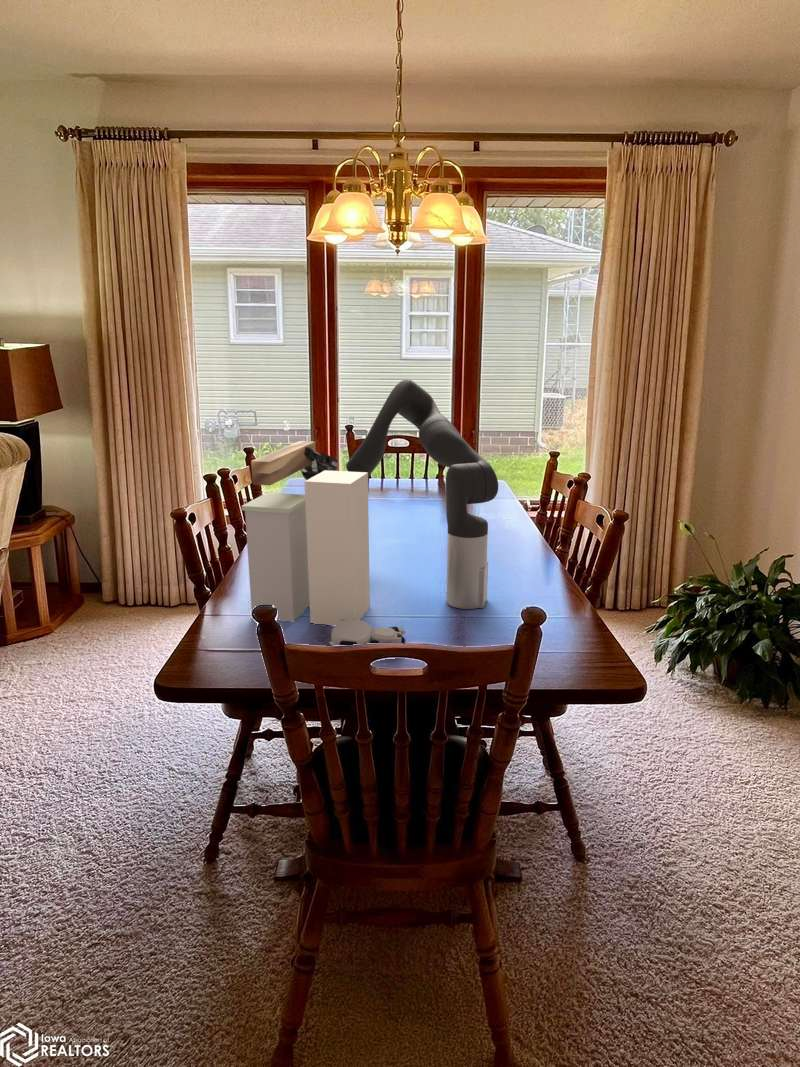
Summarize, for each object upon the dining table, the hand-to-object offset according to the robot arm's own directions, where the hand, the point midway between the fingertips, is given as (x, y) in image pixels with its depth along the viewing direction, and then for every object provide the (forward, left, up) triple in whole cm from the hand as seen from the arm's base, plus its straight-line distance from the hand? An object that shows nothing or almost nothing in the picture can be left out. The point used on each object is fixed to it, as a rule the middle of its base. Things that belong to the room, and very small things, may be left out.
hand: (297, 450), depth 166 cm
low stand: (0, +12, -35) cm, 37 cm away
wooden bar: (0, +7, -4) cm, 8 cm away
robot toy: (-25, +27, -36) cm, 51 cm away
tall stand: (-14, +12, -35) cm, 40 cm away
